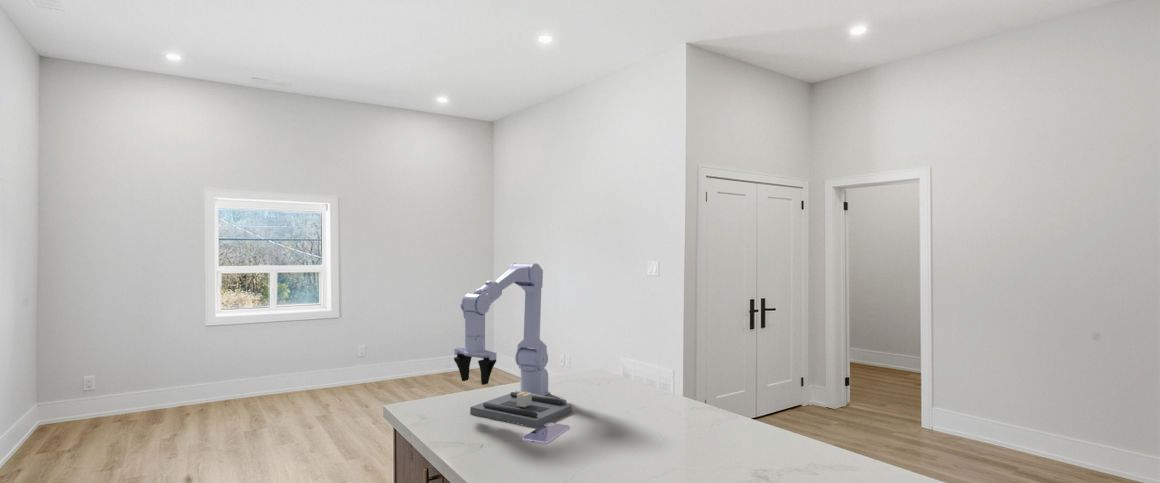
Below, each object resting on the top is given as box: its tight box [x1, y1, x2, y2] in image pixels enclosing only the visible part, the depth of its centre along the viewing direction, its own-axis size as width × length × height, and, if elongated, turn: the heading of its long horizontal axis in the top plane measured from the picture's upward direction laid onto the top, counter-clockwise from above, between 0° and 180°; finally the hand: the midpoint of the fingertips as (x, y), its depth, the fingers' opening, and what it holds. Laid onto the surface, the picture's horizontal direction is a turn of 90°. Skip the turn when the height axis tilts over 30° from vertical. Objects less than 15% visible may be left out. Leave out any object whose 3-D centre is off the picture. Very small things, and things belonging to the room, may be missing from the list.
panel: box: [469, 393, 573, 429], centre depth 172 cm, size 18×24×2 cm
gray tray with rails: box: [483, 390, 567, 417], centre depth 173 cm, size 17×20×1 cm
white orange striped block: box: [517, 392, 532, 407], centre depth 172 cm, size 4×3×4 cm
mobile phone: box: [521, 421, 571, 445], centre depth 154 cm, size 8×1×15 cm
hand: (474, 382), depth 168 cm, fingers open, 7 cm apart
